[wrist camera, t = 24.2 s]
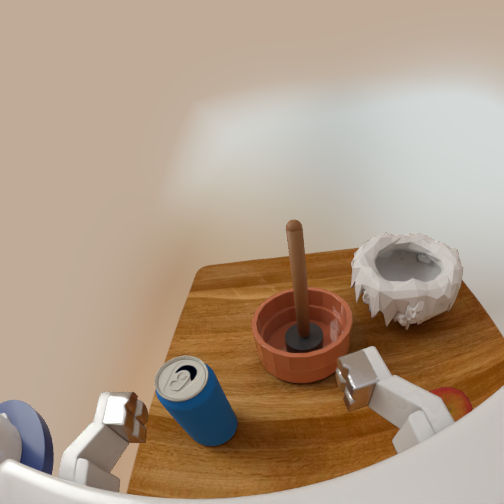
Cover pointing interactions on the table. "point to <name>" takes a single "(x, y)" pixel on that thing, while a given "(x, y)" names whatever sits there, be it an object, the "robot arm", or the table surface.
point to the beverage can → (196, 400)
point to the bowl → (406, 277)
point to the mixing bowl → (284, 316)
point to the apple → (454, 401)
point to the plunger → (300, 297)
